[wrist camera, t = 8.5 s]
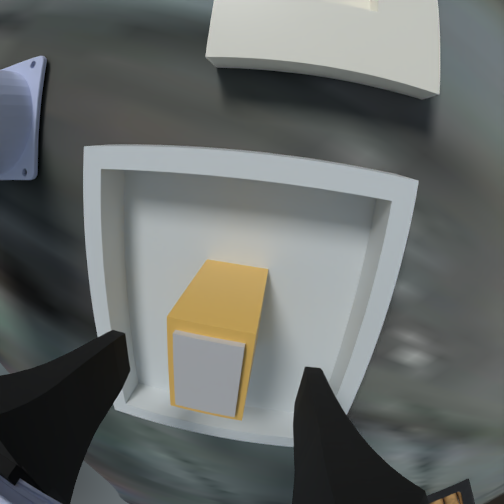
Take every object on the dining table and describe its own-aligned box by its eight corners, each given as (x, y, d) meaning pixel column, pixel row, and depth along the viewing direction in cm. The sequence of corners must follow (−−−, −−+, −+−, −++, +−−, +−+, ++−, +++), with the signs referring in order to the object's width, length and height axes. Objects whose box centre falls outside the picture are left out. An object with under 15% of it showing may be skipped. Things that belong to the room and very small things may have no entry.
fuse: (202, 334, 17) (168, 409, 11) (207, 259, 15) (164, 320, 10) (256, 344, 16) (240, 425, 11) (268, 269, 15) (255, 337, 10)
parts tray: (131, 381, 20) (114, 409, 17) (117, 144, 14) (84, 146, 12) (327, 415, 19) (329, 449, 16) (394, 173, 13) (418, 180, 11)
